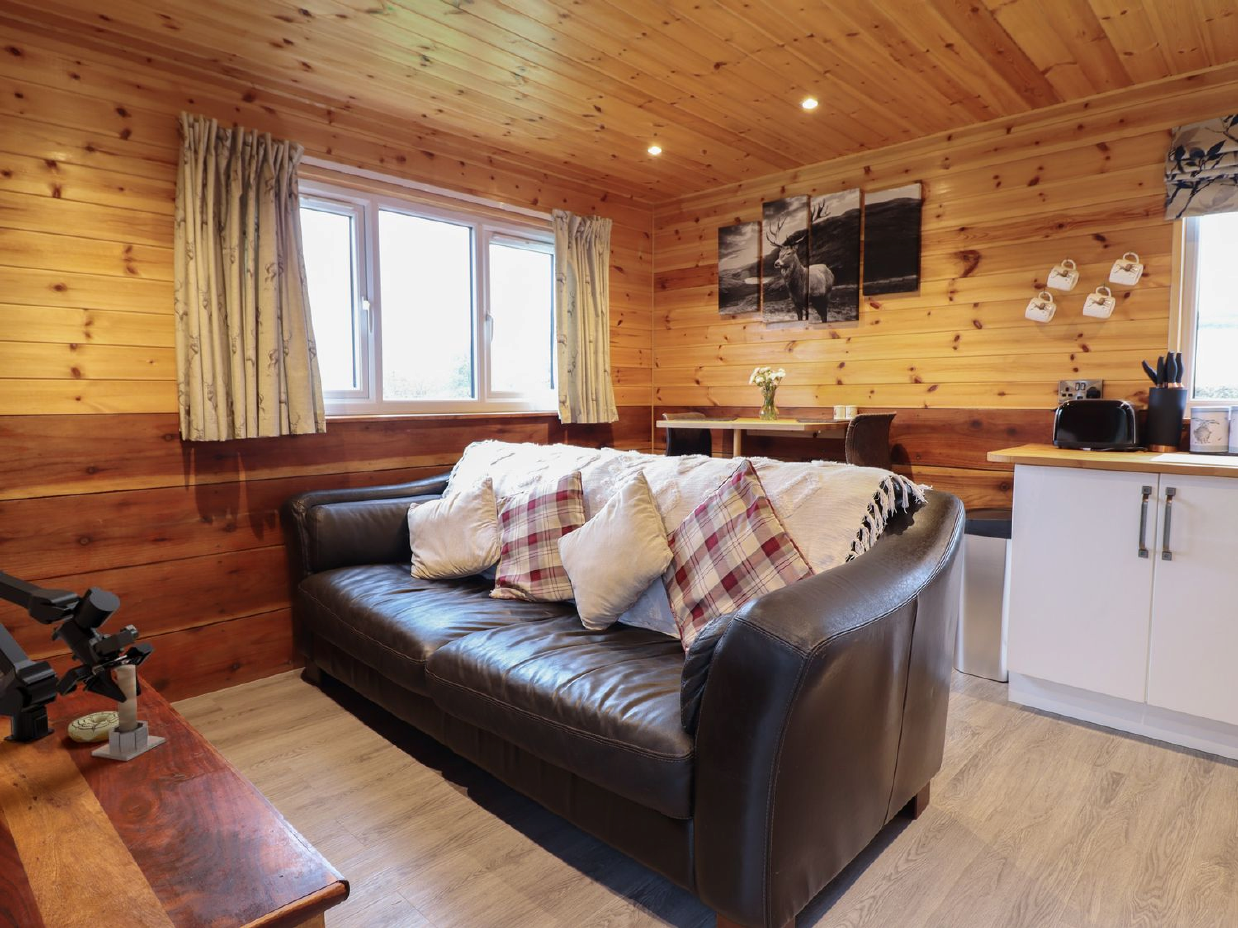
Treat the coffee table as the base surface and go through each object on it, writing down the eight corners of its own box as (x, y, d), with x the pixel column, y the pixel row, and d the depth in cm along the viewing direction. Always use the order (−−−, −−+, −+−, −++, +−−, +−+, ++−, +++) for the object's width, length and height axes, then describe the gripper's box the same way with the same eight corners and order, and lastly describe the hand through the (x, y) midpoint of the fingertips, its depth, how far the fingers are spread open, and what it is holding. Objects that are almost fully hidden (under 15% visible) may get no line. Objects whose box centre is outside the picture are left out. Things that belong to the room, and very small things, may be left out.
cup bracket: (92, 755, 149) (91, 733, 149) (131, 736, 158) (131, 716, 158) (126, 760, 147) (126, 739, 147) (165, 741, 156) (164, 720, 155)
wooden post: (115, 731, 150) (113, 670, 149) (124, 724, 154) (122, 664, 153) (131, 731, 151) (129, 669, 150) (140, 724, 154) (138, 664, 153)
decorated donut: (87, 749, 152) (86, 732, 152) (57, 739, 157) (56, 722, 156) (138, 729, 162) (137, 713, 161) (108, 720, 166) (107, 704, 166)
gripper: (65, 630, 142) (114, 690, 141) (145, 605, 160) (190, 658, 159) (34, 666, 144) (82, 725, 143) (117, 637, 162) (160, 690, 161)
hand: (132, 697), depth 151 cm, fingers closed on wooden post, 3 cm apart
